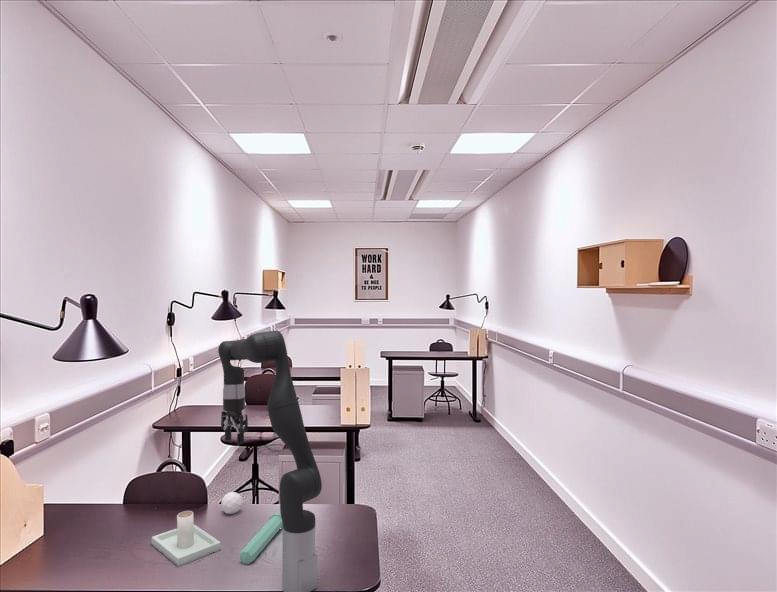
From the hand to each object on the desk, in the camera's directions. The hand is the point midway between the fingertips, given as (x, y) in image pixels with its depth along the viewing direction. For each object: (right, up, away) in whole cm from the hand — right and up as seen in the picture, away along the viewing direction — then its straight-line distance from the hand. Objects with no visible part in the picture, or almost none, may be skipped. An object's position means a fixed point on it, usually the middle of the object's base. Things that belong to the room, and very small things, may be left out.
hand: (234, 442), depth 176 cm
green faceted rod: (+13, -31, -12) cm, 36 cm away
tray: (-12, -31, -13) cm, 35 cm away
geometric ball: (-5, -31, +13) cm, 34 cm away
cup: (-12, -30, -13) cm, 35 cm away
